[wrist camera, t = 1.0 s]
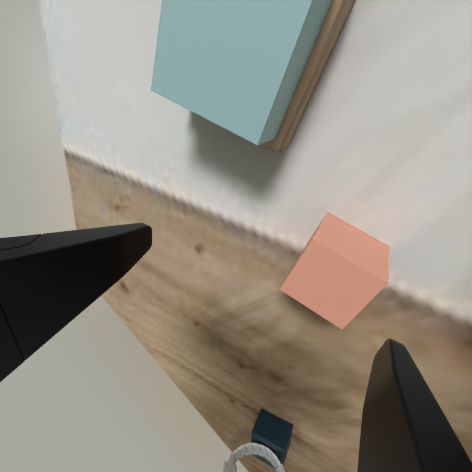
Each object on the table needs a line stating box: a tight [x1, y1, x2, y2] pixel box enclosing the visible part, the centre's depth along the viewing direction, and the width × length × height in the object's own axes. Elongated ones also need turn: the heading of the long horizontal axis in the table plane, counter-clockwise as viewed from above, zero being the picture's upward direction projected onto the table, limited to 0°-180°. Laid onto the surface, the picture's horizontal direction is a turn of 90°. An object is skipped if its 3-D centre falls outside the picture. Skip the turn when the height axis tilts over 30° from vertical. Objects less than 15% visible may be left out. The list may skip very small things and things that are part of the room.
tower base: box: [262, 0, 355, 152], centre depth 18 cm, size 9×9×3 cm
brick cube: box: [280, 212, 389, 330], centre depth 20 cm, size 5×5×5 cm
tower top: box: [151, 0, 332, 145], centre depth 15 cm, size 8×8×3 cm
